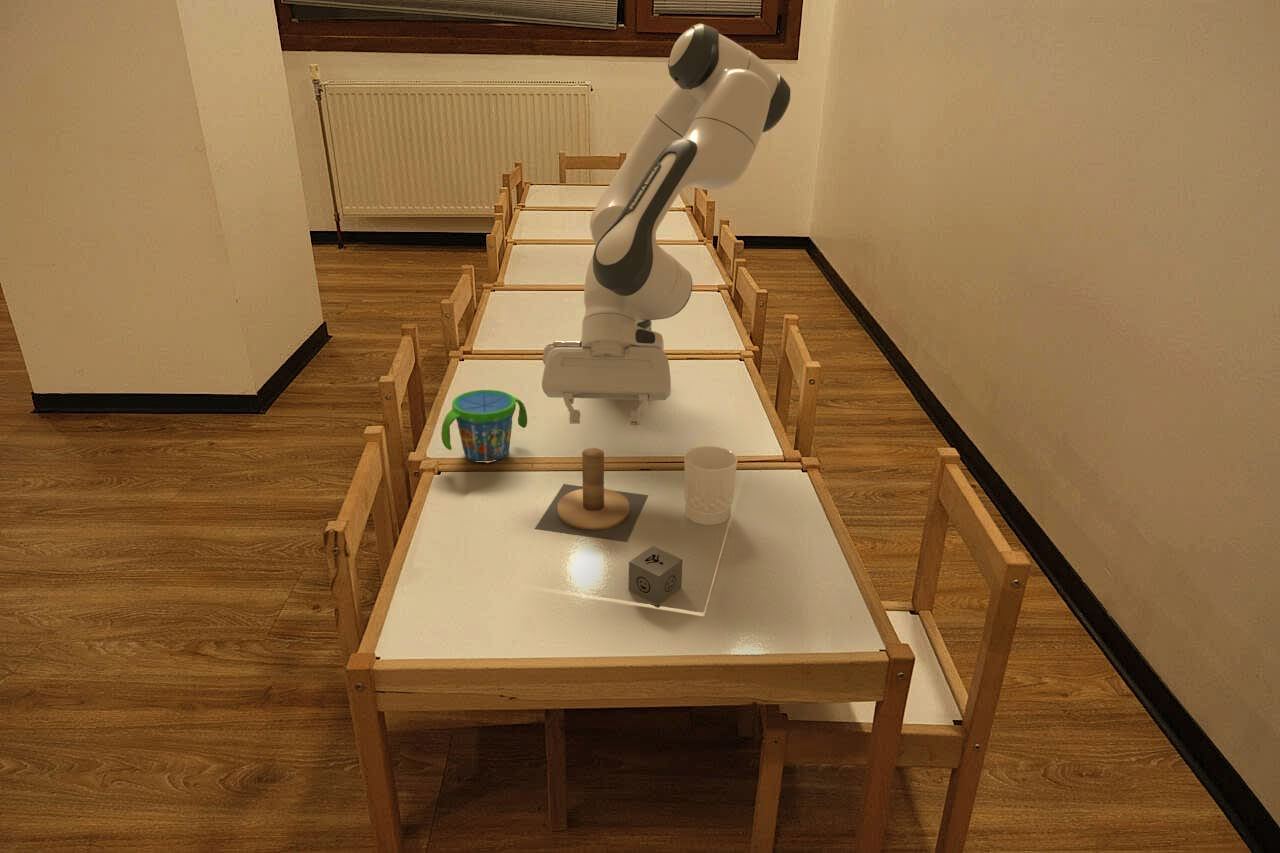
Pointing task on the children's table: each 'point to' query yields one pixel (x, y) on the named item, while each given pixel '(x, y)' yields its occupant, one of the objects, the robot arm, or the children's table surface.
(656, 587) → the dice cube
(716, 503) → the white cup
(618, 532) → the mat
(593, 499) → the lid
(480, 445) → the snack cup
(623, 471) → the children's table surface
